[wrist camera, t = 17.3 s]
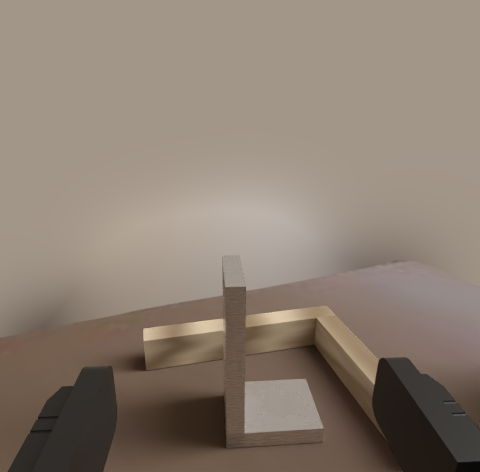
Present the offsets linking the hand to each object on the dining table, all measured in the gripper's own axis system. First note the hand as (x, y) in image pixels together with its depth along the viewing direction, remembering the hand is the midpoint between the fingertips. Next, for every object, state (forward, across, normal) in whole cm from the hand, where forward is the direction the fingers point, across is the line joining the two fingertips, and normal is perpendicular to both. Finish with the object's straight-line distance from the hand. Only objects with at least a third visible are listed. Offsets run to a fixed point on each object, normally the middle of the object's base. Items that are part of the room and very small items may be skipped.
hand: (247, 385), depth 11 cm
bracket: (+12, -3, +14) cm, 19 cm away
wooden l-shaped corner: (+14, -3, +14) cm, 20 cm away
